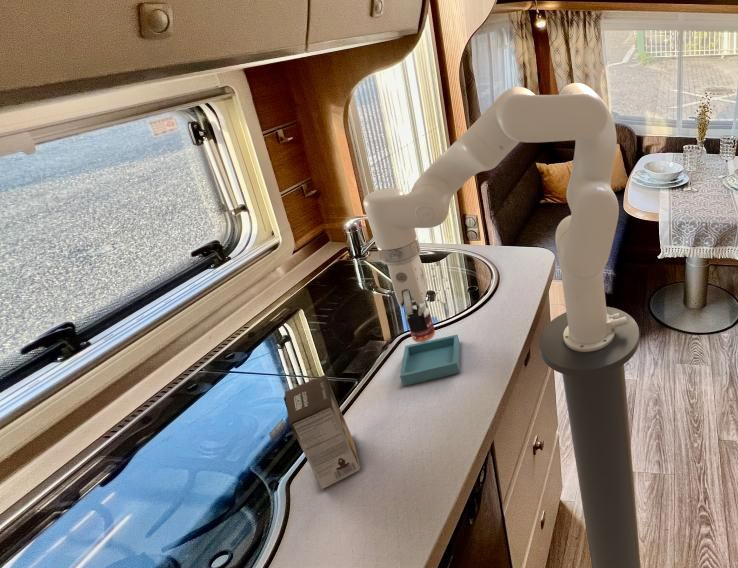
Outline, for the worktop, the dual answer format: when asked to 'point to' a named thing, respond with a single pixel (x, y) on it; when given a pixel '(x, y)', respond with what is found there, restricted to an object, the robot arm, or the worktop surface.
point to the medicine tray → (430, 360)
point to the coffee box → (322, 431)
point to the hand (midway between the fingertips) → (420, 322)
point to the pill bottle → (430, 332)
